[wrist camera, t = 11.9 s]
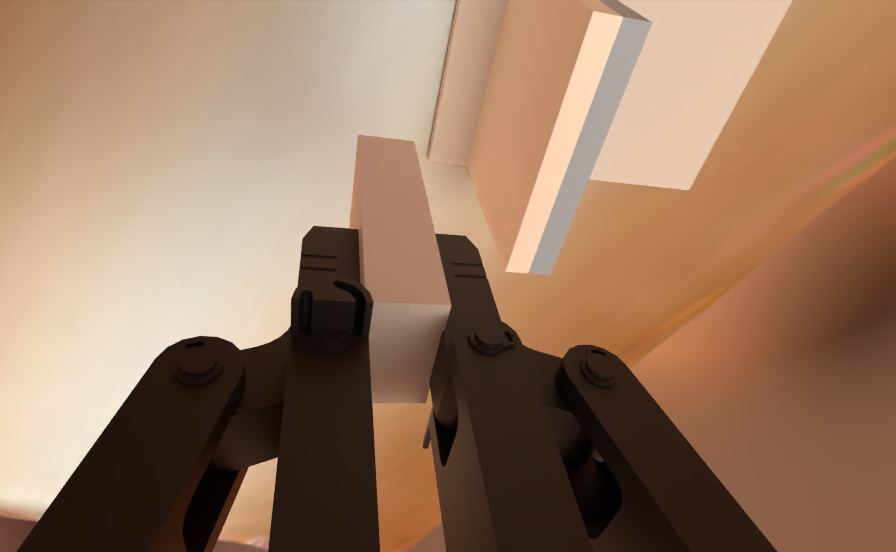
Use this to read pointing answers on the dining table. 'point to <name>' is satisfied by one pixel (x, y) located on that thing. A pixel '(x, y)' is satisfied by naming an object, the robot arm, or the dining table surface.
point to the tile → (548, 119)
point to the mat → (629, 85)
